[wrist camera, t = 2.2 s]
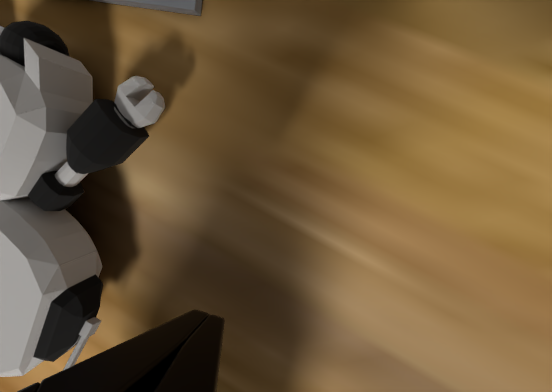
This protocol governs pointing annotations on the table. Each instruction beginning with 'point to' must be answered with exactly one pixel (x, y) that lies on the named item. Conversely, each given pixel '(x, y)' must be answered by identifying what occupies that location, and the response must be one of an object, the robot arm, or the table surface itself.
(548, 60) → the table surface
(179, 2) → the scale strip
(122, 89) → the robot toy
